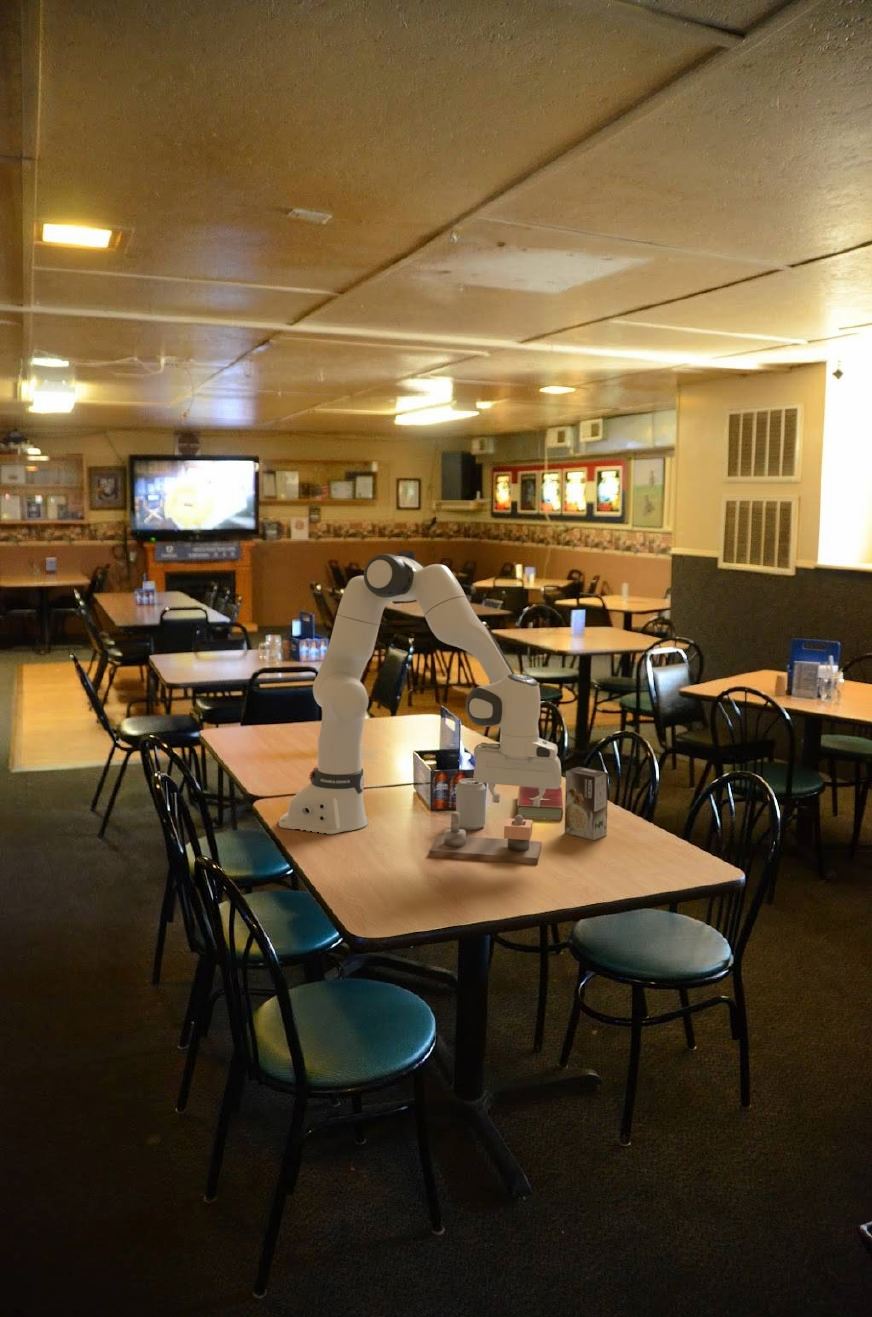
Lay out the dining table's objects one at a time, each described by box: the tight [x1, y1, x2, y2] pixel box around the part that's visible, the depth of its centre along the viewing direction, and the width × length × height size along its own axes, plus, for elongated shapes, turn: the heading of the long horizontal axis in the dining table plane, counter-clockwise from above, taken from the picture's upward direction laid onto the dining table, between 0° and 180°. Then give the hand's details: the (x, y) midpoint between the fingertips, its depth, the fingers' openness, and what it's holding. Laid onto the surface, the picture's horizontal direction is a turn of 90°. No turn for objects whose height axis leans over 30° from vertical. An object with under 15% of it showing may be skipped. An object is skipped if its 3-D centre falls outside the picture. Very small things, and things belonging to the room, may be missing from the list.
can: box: [455, 777, 487, 831], centre depth 255 cm, size 8×8×12 cm
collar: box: [503, 818, 533, 841], centre depth 235 cm, size 6×6×3 cm
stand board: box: [428, 811, 542, 865], centre depth 236 cm, size 25×12×10 cm, turn 80°
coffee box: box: [564, 766, 609, 841], centre depth 250 cm, size 9×6×16 cm
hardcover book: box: [516, 785, 564, 821], centre depth 273 cm, size 12×21×4 cm, turn 174°
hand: (516, 804), depth 233 cm, fingers open, 8 cm apart
